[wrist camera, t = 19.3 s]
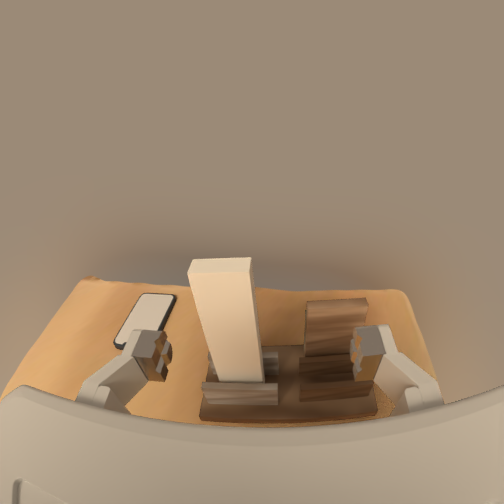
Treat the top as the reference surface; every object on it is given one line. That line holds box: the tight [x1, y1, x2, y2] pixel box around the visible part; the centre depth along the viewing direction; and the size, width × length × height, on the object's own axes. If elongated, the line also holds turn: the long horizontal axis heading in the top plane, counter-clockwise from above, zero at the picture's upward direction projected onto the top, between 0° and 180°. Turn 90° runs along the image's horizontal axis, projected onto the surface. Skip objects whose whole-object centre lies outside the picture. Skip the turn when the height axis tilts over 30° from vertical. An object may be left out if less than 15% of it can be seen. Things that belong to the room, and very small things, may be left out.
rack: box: [199, 345, 378, 423], centre depth 40 cm, size 14×25×6 cm, turn 86°
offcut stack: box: [304, 298, 368, 357], centre depth 41 cm, size 3×8×12 cm, turn 86°
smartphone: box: [113, 293, 176, 350], centre depth 56 cm, size 9×2×16 cm
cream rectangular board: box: [187, 257, 265, 383], centre depth 35 cm, size 2×6×22 cm, turn 86°
